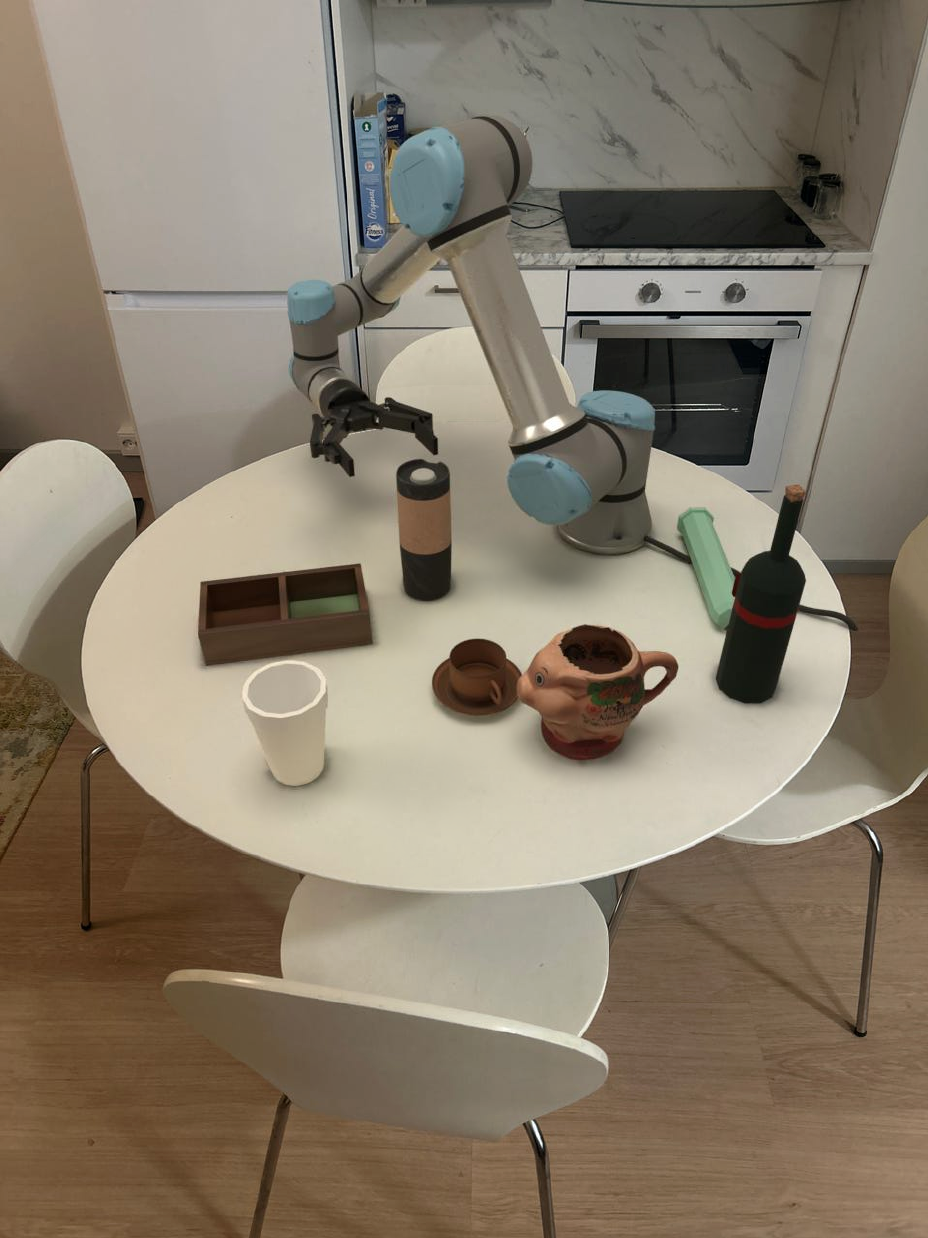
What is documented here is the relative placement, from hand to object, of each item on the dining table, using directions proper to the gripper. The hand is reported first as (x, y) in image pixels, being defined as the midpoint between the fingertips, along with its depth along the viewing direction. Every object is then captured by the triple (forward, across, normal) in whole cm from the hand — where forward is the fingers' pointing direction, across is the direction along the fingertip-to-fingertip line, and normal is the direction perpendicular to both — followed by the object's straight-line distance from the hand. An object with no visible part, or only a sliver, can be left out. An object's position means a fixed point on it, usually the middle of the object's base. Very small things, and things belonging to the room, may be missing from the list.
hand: (394, 457), depth 135 cm
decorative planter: (+47, -5, -17) cm, 50 cm away
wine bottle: (+48, -28, -17) cm, 58 cm away
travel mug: (+10, 0, -18) cm, 20 cm away
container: (+29, -39, -17) cm, 51 cm away
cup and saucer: (+34, +4, -17) cm, 38 cm away
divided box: (+9, +22, -17) cm, 29 cm away
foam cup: (+35, +30, -18) cm, 49 cm away
